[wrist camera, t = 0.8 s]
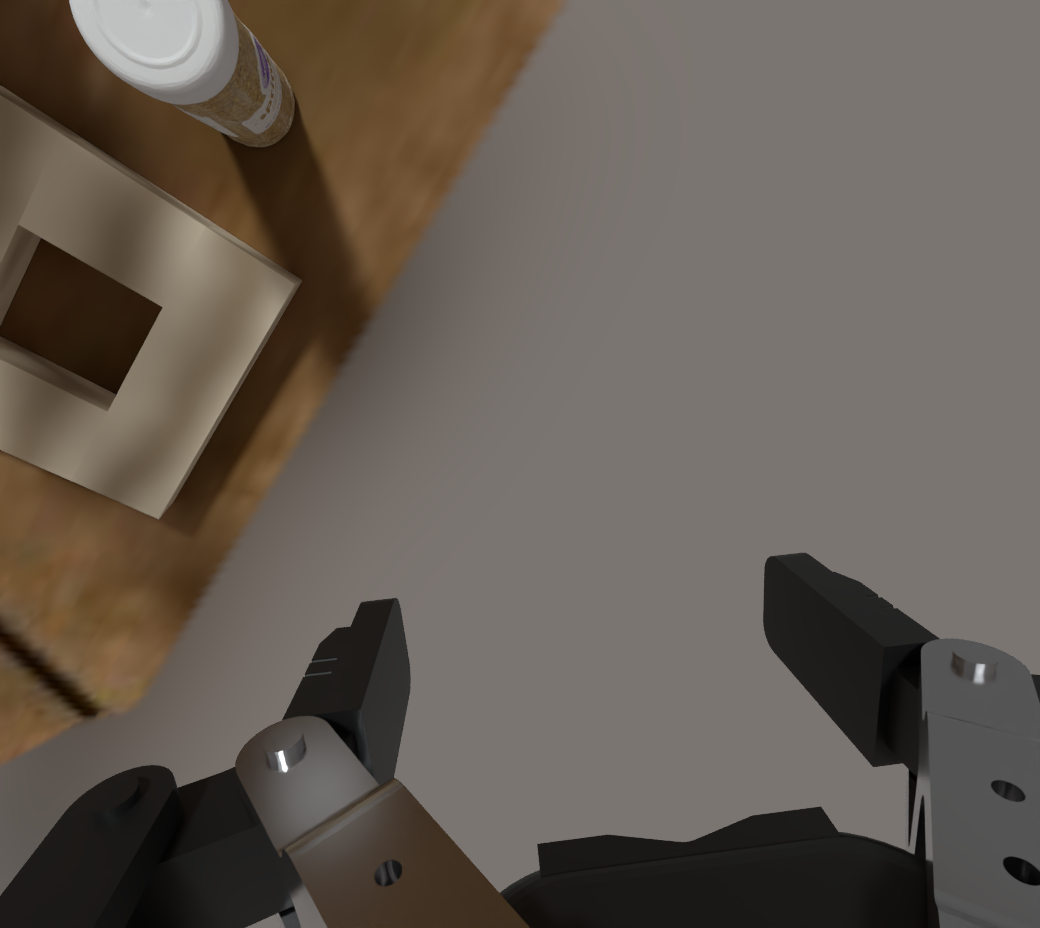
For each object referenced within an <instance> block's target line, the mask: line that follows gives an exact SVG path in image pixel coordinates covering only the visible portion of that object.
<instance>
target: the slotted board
mask: <svg viewBox="0 0 1040 928" xmlns="http://www.w3.org/2000/svg"><path fill="white" fill-rule="evenodd" d="M41 238H43V239H44V240H46V241H48V242H50V243H51V244H53V245H55V246H57V247H58V248H60V249H62V250H63V251H65V252H67V253H69V254H70V255H72V256H74V257H76V258H77V259H79V260H81V261H83V262H84V263H86V264H88V265H90V266H91V267H93V268H95V269H97V270H98V271H100V272H102V273H104V274H105V275H107V276H109V277H111V278H112V279H114V280H116V281H118V282H119V283H121V284H123V285H125V286H126V287H128V288H130V289H132V290H133V291H135V292H137V293H139V294H140V295H142V296H144V297H146V298H147V299H149V300H151V301H152V302H154V303H156V304H158V305H159V306H161V307H163V308H162V310H161V312H160V313H159V315H158V317H157V319H156V321H155V323H154V325H153V327H152V329H151V330H150V332H149V334H148V336H147V338H146V340H145V342H144V344H143V346H142V347H141V349H140V351H139V353H138V355H137V357H136V359H135V361H134V363H133V364H132V366H131V368H130V370H129V372H128V374H127V376H126V378H125V380H124V382H123V383H122V385H121V387H120V389H119V391H118V393H117V395H116V394H114V393H112V392H110V391H108V390H106V389H104V388H102V387H100V386H98V385H96V384H94V383H92V382H90V381H89V380H87V379H85V378H83V377H81V376H79V375H77V374H75V373H73V372H71V371H69V370H67V369H65V368H63V367H61V366H59V365H57V364H55V363H53V362H51V361H49V360H47V359H45V358H43V357H41V356H39V355H37V354H35V353H33V352H31V351H29V350H27V349H25V348H23V347H21V346H19V345H17V344H15V343H13V342H11V341H9V340H7V339H5V338H3V337H1V336H0V450H2V451H4V452H6V453H8V454H11V455H13V456H15V457H18V458H20V459H22V460H24V461H27V462H29V463H31V464H34V465H36V466H38V467H40V468H43V469H45V470H47V471H49V472H52V473H54V474H56V475H59V476H61V477H63V478H65V479H68V480H70V481H72V482H75V483H77V484H79V485H81V486H84V487H86V488H88V489H91V490H93V491H95V492H97V493H100V494H102V495H104V496H106V497H109V498H111V499H113V500H116V501H118V502H120V503H122V504H125V505H127V506H129V507H132V508H134V509H136V510H138V511H141V512H143V513H145V514H148V515H150V516H152V517H154V518H157V519H159V518H160V517H161V516H162V515H163V514H164V513H165V511H166V510H167V509H168V508H169V507H170V506H171V504H172V503H173V502H174V500H175V499H176V497H177V495H178V493H179V492H180V490H181V488H182V487H183V485H184V483H185V481H186V480H187V478H188V476H189V475H190V473H191V471H192V469H193V468H194V466H195V464H196V463H197V461H198V459H199V457H200V456H201V454H202V452H203V451H204V449H205V447H206V445H207V444H208V442H209V440H210V439H211V437H212V435H213V433H214V432H215V430H216V428H217V426H218V425H219V423H220V421H221V420H222V418H223V416H224V414H225V413H226V411H227V409H228V408H229V406H230V404H231V402H232V401H233V399H234V397H235V396H236V394H237V392H238V390H239V389H240V387H241V385H242V384H243V382H244V380H245V378H246V377H247V375H248V373H249V371H250V370H251V368H252V366H253V365H254V363H255V361H256V359H257V358H258V356H259V354H260V353H261V351H262V349H263V347H264V346H265V344H266V342H267V341H268V339H269V337H270V335H271V334H272V332H273V330H274V329H275V327H276V325H277V323H278V322H279V320H280V318H281V317H282V315H283V313H284V311H285V310H286V308H287V306H288V304H289V303H290V301H291V299H292V298H293V296H294V294H295V292H296V291H297V289H298V287H299V286H300V284H301V282H302V280H301V279H299V278H298V277H296V276H295V275H293V274H292V273H290V272H289V271H287V270H286V269H284V268H282V267H281V266H279V265H278V264H276V263H275V262H273V261H272V260H270V259H269V258H267V257H265V256H264V255H262V254H261V253H259V252H258V251H256V250H255V249H253V248H252V247H250V246H248V245H247V244H245V243H244V242H242V241H241V240H239V239H238V238H236V237H235V236H233V235H231V234H230V233H228V232H227V231H225V230H224V229H222V228H221V227H219V226H218V225H216V224H214V223H213V222H211V221H210V220H208V219H207V218H205V217H204V216H202V215H201V214H199V213H197V212H196V211H194V210H193V209H191V208H190V207H188V206H187V205H185V204H184V203H182V202H180V201H179V200H177V199H176V198H174V197H173V196H171V195H170V194H168V193H167V192H165V191H163V190H162V189H160V188H159V187H157V186H156V185H154V184H153V183H151V182H150V181H148V180H146V179H145V178H143V177H142V176H140V175H139V174H137V173H136V172H134V171H133V170H131V169H129V168H128V167H126V166H125V165H123V164H122V163H120V162H119V161H117V160H116V159H114V158H112V157H111V156H109V155H108V154H106V153H105V152H103V151H102V150H100V149H99V148H97V147H95V146H94V145H92V144H91V143H89V142H88V141H86V140H85V139H83V138H82V137H80V136H78V135H77V134H75V133H74V132H72V131H71V130H69V129H68V128H66V127H65V126H63V125H61V124H60V123H58V122H57V121H55V120H54V119H52V118H51V117H49V116H48V115H46V114H44V113H43V112H41V111H40V110H38V109H37V108H35V107H34V106H32V105H31V104H29V103H27V102H26V101H24V100H23V99H21V98H20V97H18V96H17V95H15V94H14V93H12V92H10V91H9V90H7V89H6V88H4V87H3V86H1V85H0V326H1V324H2V321H3V319H4V317H5V315H6V313H7V311H8V309H9V306H10V304H11V302H12V300H13V298H14V296H15V293H16V291H17V289H18V287H19V285H20V283H21V280H22V278H23V276H24V274H25V272H26V270H27V267H28V265H29V263H30V261H31V259H32V257H33V254H34V252H35V250H36V248H37V246H38V244H39V241H40V239H41Z"/></svg>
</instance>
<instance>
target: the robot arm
mask: <svg viewBox="0 0 1040 928" xmlns="http://www.w3.org/2000/svg"><path fill="white" fill-rule="evenodd" d="M764 576H765V577H764V612H763V623H764V631H765V635H766V638H767V641H768V643H769V645H770V647H771V649H772V650H773V651H774V653H775V654H776V655H777V656H778V657H779V658H780V660H781V661H782V662H783V663H784V664H785V665H786V666H787V668H788V669H789V670H790V671H791V672H792V674H793V675H794V676H795V677H796V678H797V679H798V680H799V682H800V683H801V684H802V685H803V686H804V687H805V689H806V690H807V691H808V692H809V693H810V694H811V695H812V697H813V698H814V699H815V700H816V701H817V702H818V703H819V705H820V706H821V707H822V708H823V709H824V710H825V712H826V713H827V714H828V715H829V716H830V717H831V719H832V720H833V721H834V722H835V723H836V724H837V725H838V727H839V728H840V729H841V730H842V731H843V733H845V735H846V736H847V737H848V738H849V739H850V741H851V742H852V743H853V744H854V745H855V746H856V748H857V749H858V750H859V751H860V752H861V753H862V754H863V756H864V757H865V758H866V759H867V760H868V761H869V763H870V764H871V765H872V766H873V767H878V766H885V765H893V764H900V763H904V765H905V766H906V767H907V768H908V774H907V784H906V850H903V849H901V848H898V847H895V846H893V845H890V844H888V843H885V842H882V841H878V840H875V839H871V838H868V837H865V836H859V835H855V834H850V833H844V832H838V831H837V829H836V828H835V827H834V825H833V824H832V822H831V821H830V819H829V818H828V816H827V815H826V813H825V812H824V810H823V809H822V808H821V807H814V808H807V809H800V810H792V811H784V812H777V813H769V814H761V815H754V816H750V817H748V818H746V819H743V820H741V821H738V822H736V823H734V824H731V825H729V826H727V827H724V828H722V829H719V830H717V831H715V832H712V833H710V834H708V835H705V836H703V837H700V838H698V839H696V840H693V841H690V842H674V841H663V840H654V839H644V838H635V837H625V836H615V835H602V836H595V837H587V838H580V839H572V840H564V841H557V842H549V843H541V844H538V855H539V865H540V870H539V871H537V872H534V873H532V874H529V875H527V876H525V877H524V878H522V879H520V880H518V881H516V882H515V883H513V884H511V885H510V886H508V887H507V888H506V889H504V890H503V891H502V892H500V893H499V892H498V891H497V890H496V889H495V888H494V886H493V885H492V884H491V883H490V882H489V881H488V880H487V879H486V877H485V876H484V875H483V874H482V873H481V872H480V871H479V870H478V869H477V867H476V866H475V865H474V864H473V863H472V862H471V861H470V859H469V858H468V857H467V856H466V855H465V854H464V853H463V852H462V850H461V849H460V848H459V847H458V846H457V845H456V844H455V842H454V841H453V840H452V839H451V838H450V837H449V836H448V835H447V834H446V833H445V831H444V830H443V829H442V828H441V827H440V826H439V824H438V823H437V822H436V821H435V820H434V819H433V818H432V817H431V815H430V814H429V813H428V812H427V811H426V810H425V809H424V807H422V805H421V804H420V803H419V802H418V801H417V800H416V799H415V797H414V796H413V795H412V794H411V793H410V792H409V791H408V790H407V788H406V787H405V786H404V785H403V784H402V783H401V782H400V781H399V780H397V779H395V778H394V773H395V768H396V763H397V757H398V752H399V747H400V741H401V736H402V731H403V726H404V721H405V715H406V710H407V705H408V700H409V694H410V664H409V658H408V651H407V645H406V639H405V633H404V627H403V620H402V614H401V608H400V604H399V601H398V599H397V598H392V599H383V600H375V601H366V602H361V604H360V606H359V608H358V611H357V613H356V615H355V618H354V620H353V622H352V625H351V627H344V628H337V629H335V631H333V632H332V633H331V634H330V635H329V636H328V637H327V638H326V639H324V640H323V641H322V642H321V643H320V644H319V646H318V648H317V650H316V652H315V654H314V656H313V659H312V663H310V664H309V667H308V669H307V671H306V673H305V677H303V679H302V681H301V683H300V685H299V687H298V689H297V691H296V693H295V695H294V697H293V699H292V701H291V703H290V705H289V707H288V709H287V711H286V713H285V715H284V717H283V719H282V721H280V722H277V723H275V724H273V725H271V726H269V727H267V728H265V729H263V730H262V731H260V732H259V733H258V734H256V735H255V736H254V737H253V738H252V739H250V740H249V741H248V742H247V743H246V744H245V745H244V747H243V748H242V750H241V751H240V753H239V755H238V757H237V760H236V763H235V767H233V768H231V769H229V770H227V771H224V772H222V773H219V774H216V775H213V776H210V777H208V778H205V779H202V780H199V781H196V782H193V783H190V784H187V785H185V786H182V787H179V788H177V785H176V782H175V778H174V776H173V773H172V772H171V771H170V770H169V769H167V768H165V767H162V766H156V765H155V766H154V765H150V766H141V767H137V768H133V769H130V770H126V771H124V772H121V773H119V774H116V775H114V776H112V777H110V778H108V779H106V780H104V781H103V782H101V783H99V784H97V785H96V786H95V787H93V788H91V789H90V790H88V791H87V792H86V793H85V794H83V795H82V796H81V797H79V798H78V799H77V800H76V801H75V802H74V803H73V804H72V805H71V806H70V807H69V808H68V809H67V810H66V812H65V813H64V814H63V815H62V817H61V818H60V819H59V820H58V822H57V823H56V824H55V826H54V827H53V828H52V830H51V831H50V832H49V833H48V835H47V836H46V837H45V839H44V840H43V841H42V843H41V844H40V845H39V846H38V848H37V849H36V850H35V852H34V853H33V854H32V855H31V857H30V858H29V859H28V861H27V862H26V863H25V865H24V866H23V867H22V868H21V870H20V871H19V872H18V874H17V875H16V876H15V878H14V879H13V880H12V882H11V883H10V884H9V885H8V887H7V888H6V889H5V891H4V892H3V893H2V894H1V896H0V928H245V927H247V926H249V925H252V924H254V923H256V922H258V921H261V920H263V919H265V918H268V917H269V916H272V915H274V914H275V916H276V918H277V921H278V923H279V925H280V927H281V928H1040V675H1033V674H1030V671H1029V670H1028V669H1027V667H1026V666H1025V665H1023V664H1022V663H1021V662H1020V661H1019V660H1017V659H1016V658H1014V657H1013V656H1011V655H1009V654H1007V653H1006V652H1003V651H1001V650H998V649H997V648H994V647H991V646H988V645H985V644H982V643H978V642H974V641H968V640H962V639H939V638H938V637H937V636H935V635H934V634H932V633H931V632H930V631H928V630H927V629H925V628H924V627H923V626H921V625H920V624H918V623H917V622H915V621H914V620H913V619H911V618H910V617H908V616H907V615H906V614H904V613H903V612H901V611H900V610H899V609H897V608H896V609H894V608H893V605H892V604H890V603H889V602H887V601H886V600H884V599H883V598H882V597H881V598H879V597H878V595H877V594H876V593H875V592H873V591H872V590H870V589H869V588H868V587H866V586H865V585H863V584H862V583H860V582H859V581H856V580H854V579H851V578H848V577H846V576H844V575H841V574H839V573H836V572H832V571H831V570H829V569H828V568H826V567H825V566H824V565H822V564H821V563H820V562H818V561H817V560H816V559H814V558H813V557H812V556H810V555H809V554H807V553H797V554H787V555H779V556H771V557H769V558H768V559H767V561H766V563H765V574H764Z"/></svg>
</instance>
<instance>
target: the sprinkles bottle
mask: <svg viewBox="0 0 1040 928" xmlns="http://www.w3.org/2000/svg"><path fill="white" fill-rule="evenodd" d="M69 2H70V6H71V10H72V14H73V17H74V20H75V22H76V25H77V27H78V29H79V31H80V33H81V35H82V37H83V38H84V40H85V42H86V43H87V45H88V46H89V48H90V49H91V50H92V52H93V53H94V54H95V55H96V57H97V58H98V59H99V60H100V61H101V62H102V63H103V64H104V65H105V66H106V67H107V68H108V69H109V70H110V71H112V72H113V73H114V74H115V75H116V76H118V77H119V78H121V79H122V80H124V81H125V82H127V83H128V84H130V85H131V86H133V87H135V88H136V89H138V90H140V91H141V92H143V93H145V94H147V95H149V96H151V97H153V98H156V99H158V100H161V101H164V102H168V103H172V104H173V105H174V106H175V107H177V108H178V109H180V110H182V111H183V112H185V113H187V114H189V115H190V116H192V117H194V118H196V119H198V120H199V121H201V122H203V123H205V124H207V125H209V126H211V127H212V128H214V129H216V130H218V131H220V132H222V133H224V134H226V135H227V136H228V137H230V138H231V139H233V140H235V141H237V142H240V143H242V144H245V145H246V146H252V147H267V146H270V145H273V144H275V143H276V142H278V141H279V140H280V139H281V138H283V137H284V136H285V134H286V133H288V131H289V129H290V127H291V125H292V122H293V118H294V110H295V107H294V106H295V100H294V96H293V90H292V88H291V86H290V84H289V81H288V79H287V78H286V76H285V74H284V73H283V72H282V70H281V69H280V68H279V67H278V65H277V64H276V63H275V62H274V61H273V60H272V59H271V58H270V56H269V55H268V53H267V52H266V51H265V49H264V48H263V47H262V45H261V44H260V43H259V42H258V40H257V39H256V38H255V36H254V35H253V34H252V33H251V32H250V30H249V29H248V28H247V27H246V26H245V25H244V24H243V23H242V22H241V21H240V19H239V18H238V17H237V16H236V14H235V13H234V12H233V11H232V9H231V6H230V4H229V2H228V0H69Z"/></svg>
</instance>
